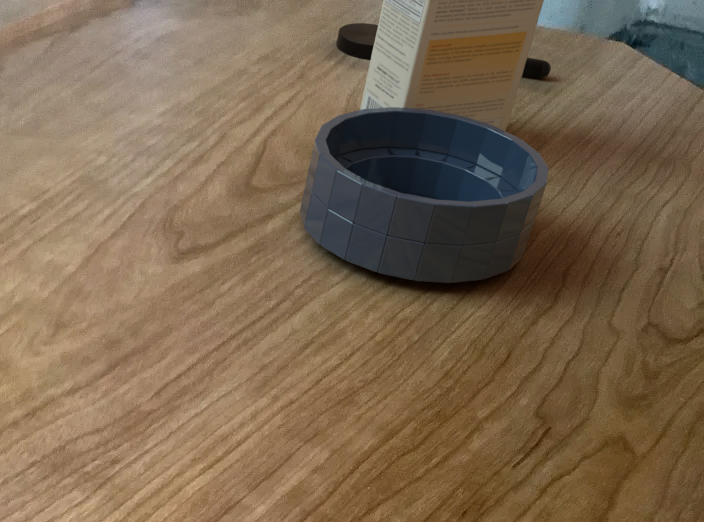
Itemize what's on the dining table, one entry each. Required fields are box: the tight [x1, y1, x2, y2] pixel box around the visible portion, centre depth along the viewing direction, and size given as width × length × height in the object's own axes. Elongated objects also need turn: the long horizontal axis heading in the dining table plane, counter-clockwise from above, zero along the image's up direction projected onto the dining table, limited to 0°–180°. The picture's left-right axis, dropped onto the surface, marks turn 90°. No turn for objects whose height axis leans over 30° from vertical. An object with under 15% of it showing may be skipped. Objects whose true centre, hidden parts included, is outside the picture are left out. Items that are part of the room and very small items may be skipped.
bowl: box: [299, 107, 550, 284], centre depth 76 cm, size 12×12×5 cm
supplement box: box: [359, 0, 545, 132], centre depth 84 cm, size 8×5×13 cm, turn 108°
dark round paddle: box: [335, 22, 552, 79], centre depth 99 cm, size 15×4×1 cm, turn 69°
